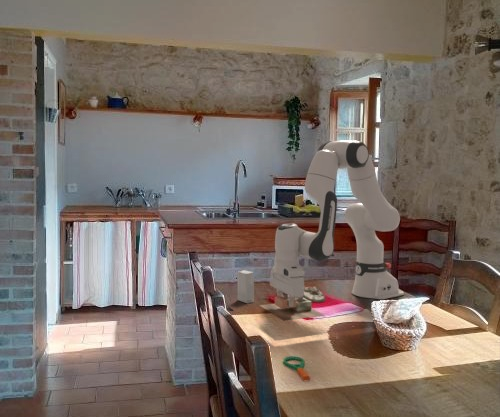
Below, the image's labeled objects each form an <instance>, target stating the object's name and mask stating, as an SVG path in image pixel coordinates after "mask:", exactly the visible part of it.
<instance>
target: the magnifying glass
mask: <svg viewBox="0 0 500 417" xmlns="http://www.w3.org/2000/svg"><path fill="white" fill-rule="evenodd" d="M289 361H298V362H299V363H289ZM282 363H283V365H284V364H285V365H284V366H286V367H288V368H289V369H291V370H294V371H296V372H297V374H298V373H299V374H298V375H299V376H300V378H301V379H302V380H303V381H304V380H308V381H310V379H311V377H310V376H309V374H308V373H307V371H306V370H305V369H304V367H305V359H303V358H302V357H301V356H295V355H291V356H286V357H284V358H283V361H282Z"/></svg>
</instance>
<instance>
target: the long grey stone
mask: <svg viewBox="0 0 500 417" xmlns="http://www.w3.org/2000/svg"><path fill="white" fill-rule="evenodd" d="M303 298H305V299H307V300H309V301H311V302H313V303H325V301H326V296H325V294H324V293H323V292H322V291H320V288H319V287H318V286H308V287H306V286H304V294H303Z"/></svg>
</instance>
